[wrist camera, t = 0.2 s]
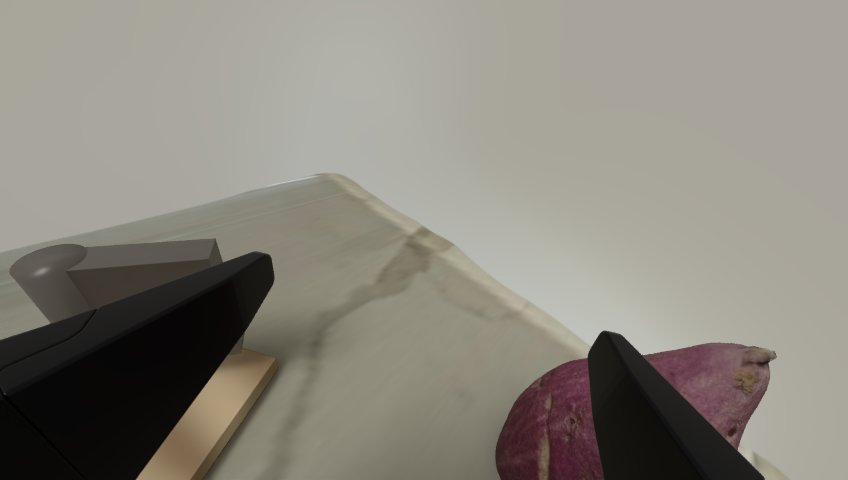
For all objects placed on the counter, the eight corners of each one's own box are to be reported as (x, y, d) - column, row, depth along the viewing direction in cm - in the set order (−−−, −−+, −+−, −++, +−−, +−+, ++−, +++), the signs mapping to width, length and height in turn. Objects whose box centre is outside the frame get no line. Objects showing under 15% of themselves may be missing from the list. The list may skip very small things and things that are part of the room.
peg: (245, 371, 22) (206, 263, 17) (96, 398, 20) (-6, 282, 14) (254, 309, 26) (226, 207, 21) (132, 325, 24) (65, 214, 18)
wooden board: (121, 598, 15) (106, 592, 14) (-103, 504, 16) (-129, 493, 15) (280, 364, 25) (277, 352, 24) (132, 320, 26) (124, 307, 25)
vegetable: (605, 436, 26) (769, 304, 19) (671, 630, 17) (1030, 515, 10) (486, 386, 26) (609, 232, 19) (490, 558, 17) (732, 383, 10)
